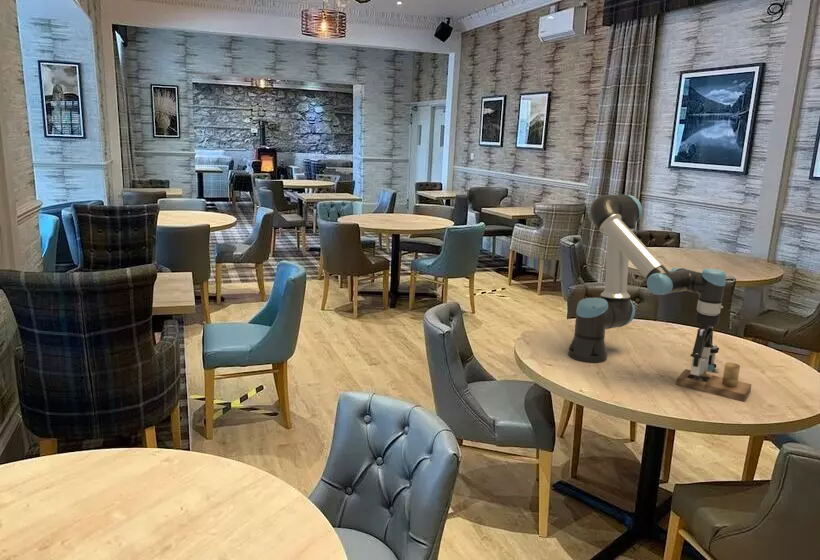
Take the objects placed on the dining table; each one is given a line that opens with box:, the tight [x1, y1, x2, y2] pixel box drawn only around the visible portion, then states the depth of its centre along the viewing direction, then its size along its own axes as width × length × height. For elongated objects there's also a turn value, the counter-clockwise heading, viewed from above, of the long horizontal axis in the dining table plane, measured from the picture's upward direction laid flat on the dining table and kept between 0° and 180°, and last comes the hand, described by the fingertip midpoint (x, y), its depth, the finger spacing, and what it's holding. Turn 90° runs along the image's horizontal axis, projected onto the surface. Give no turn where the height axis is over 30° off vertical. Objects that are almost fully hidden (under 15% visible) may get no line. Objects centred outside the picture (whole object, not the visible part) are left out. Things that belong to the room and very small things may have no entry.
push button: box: [707, 343, 720, 373], centre depth 231 cm, size 7×5×10 cm
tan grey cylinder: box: [692, 356, 709, 382], centre depth 216 cm, size 5×5×10 cm
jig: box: [675, 362, 752, 402], centre depth 213 cm, size 22×12×10 cm, turn 52°
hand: (699, 369), depth 216 cm, fingers open, 13 cm apart
